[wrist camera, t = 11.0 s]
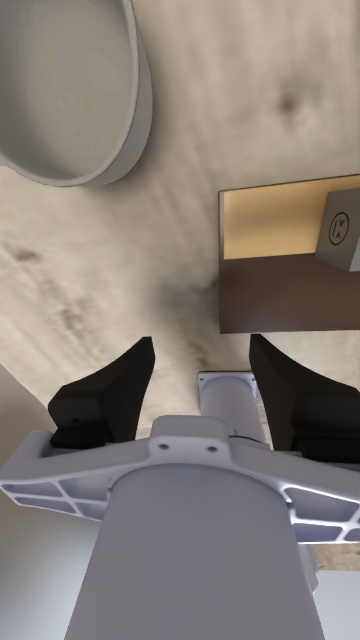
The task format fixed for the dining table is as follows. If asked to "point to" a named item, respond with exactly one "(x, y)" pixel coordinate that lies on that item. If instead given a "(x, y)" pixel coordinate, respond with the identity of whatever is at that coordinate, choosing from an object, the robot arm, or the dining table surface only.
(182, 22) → the dining table surface
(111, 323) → the dining table surface
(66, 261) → the dining table surface
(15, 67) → the teacup
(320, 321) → the walnut board
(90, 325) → the dining table surface
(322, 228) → the dice cube
